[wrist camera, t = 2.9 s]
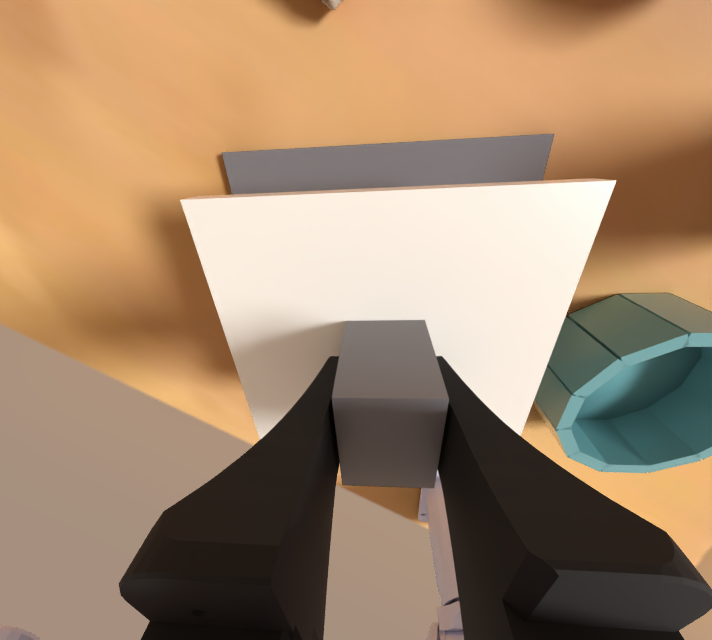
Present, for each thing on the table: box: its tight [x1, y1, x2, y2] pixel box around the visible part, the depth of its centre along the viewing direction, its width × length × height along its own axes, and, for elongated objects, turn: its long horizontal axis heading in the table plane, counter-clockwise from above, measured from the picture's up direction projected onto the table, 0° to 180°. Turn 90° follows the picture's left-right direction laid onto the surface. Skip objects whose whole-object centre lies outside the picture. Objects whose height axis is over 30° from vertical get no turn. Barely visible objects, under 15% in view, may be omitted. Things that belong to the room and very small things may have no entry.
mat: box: [222, 134, 554, 195], centre depth 18 cm, size 16×16×1 cm
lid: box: [180, 178, 617, 488], centre depth 10 cm, size 13×13×5 cm
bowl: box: [533, 293, 712, 473], centre depth 18 cm, size 11×11×4 cm
